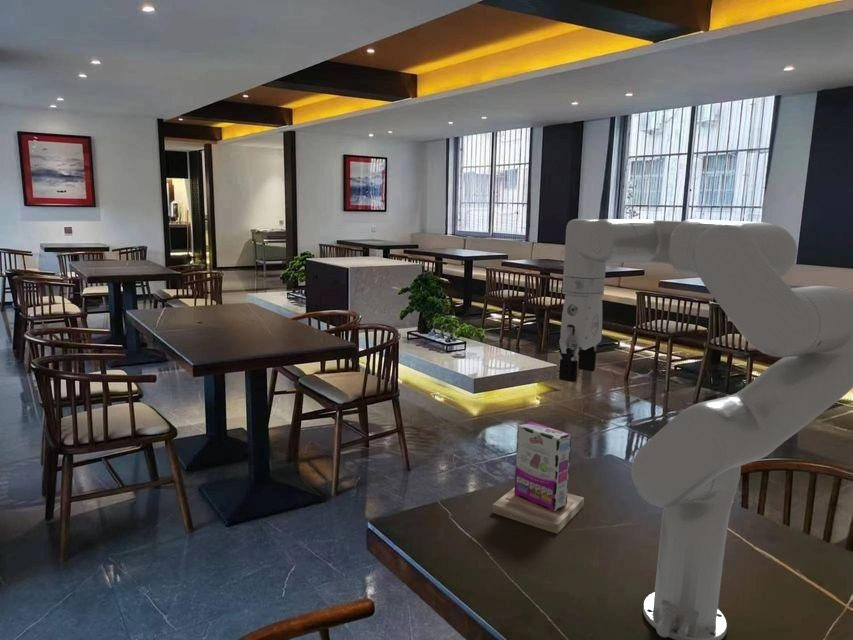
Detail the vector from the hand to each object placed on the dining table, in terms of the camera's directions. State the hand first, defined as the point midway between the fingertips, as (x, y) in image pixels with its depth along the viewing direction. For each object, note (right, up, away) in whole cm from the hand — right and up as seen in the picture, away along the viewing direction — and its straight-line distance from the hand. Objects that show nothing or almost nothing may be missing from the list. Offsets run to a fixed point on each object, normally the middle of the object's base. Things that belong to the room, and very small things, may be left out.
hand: (577, 375), depth 120 cm
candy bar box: (-4, -29, +19) cm, 35 cm away
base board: (-4, -31, +19) cm, 37 cm away
